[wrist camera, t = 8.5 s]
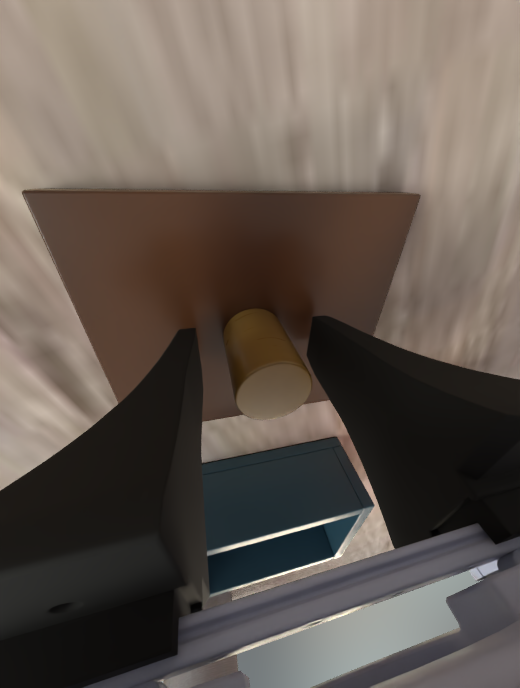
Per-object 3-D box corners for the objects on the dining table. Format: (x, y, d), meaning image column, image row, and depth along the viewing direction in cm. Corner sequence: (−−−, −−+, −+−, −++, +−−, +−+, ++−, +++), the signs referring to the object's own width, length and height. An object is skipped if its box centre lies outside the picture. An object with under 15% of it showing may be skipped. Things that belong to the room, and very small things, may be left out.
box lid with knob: (403, 192, 10) (533, 203, 6) (344, 385, 16) (391, 449, 12) (38, 188, 7) (-123, 204, 4) (135, 418, 13) (114, 512, 10)
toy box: (337, 436, 19) (375, 505, 15) (317, 495, 25) (341, 556, 21) (178, 468, 17) (174, 560, 13) (197, 525, 22) (198, 601, 18)
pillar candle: (211, 607, 42) (218, 779, 30) (155, 616, 37) (138, 826, 25) (243, 585, 39) (265, 770, 27) (186, 592, 34) (183, 822, 22)
